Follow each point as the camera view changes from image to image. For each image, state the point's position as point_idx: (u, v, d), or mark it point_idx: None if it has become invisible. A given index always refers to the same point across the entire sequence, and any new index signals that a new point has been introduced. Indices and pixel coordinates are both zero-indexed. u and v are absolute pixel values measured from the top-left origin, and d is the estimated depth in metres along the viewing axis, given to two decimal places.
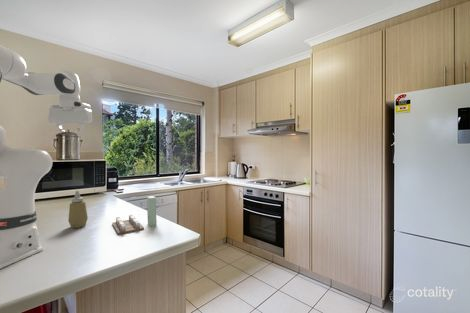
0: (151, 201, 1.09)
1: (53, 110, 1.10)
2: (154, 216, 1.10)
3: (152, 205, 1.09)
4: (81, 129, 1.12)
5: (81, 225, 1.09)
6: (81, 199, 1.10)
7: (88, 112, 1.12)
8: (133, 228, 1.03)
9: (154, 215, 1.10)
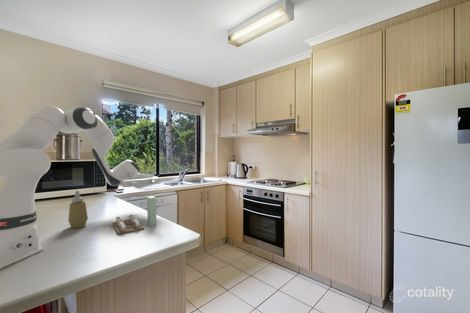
0: (151, 201, 1.09)
1: (126, 179, 1.25)
2: (154, 216, 1.10)
3: (152, 205, 1.09)
4: None
5: (81, 225, 1.09)
6: (81, 199, 1.10)
7: None
8: (133, 228, 1.03)
9: (154, 215, 1.10)
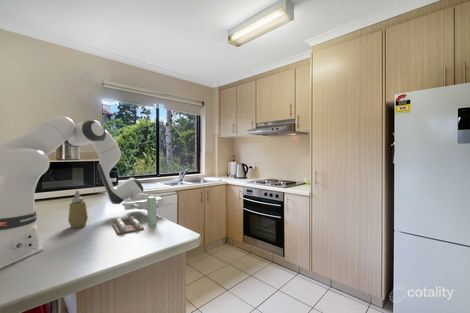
0: (151, 201, 1.09)
1: (129, 200, 1.22)
2: (154, 216, 1.10)
3: (152, 205, 1.09)
4: None
5: (81, 225, 1.09)
6: (81, 199, 1.10)
7: None
8: (133, 228, 1.03)
9: (154, 215, 1.10)
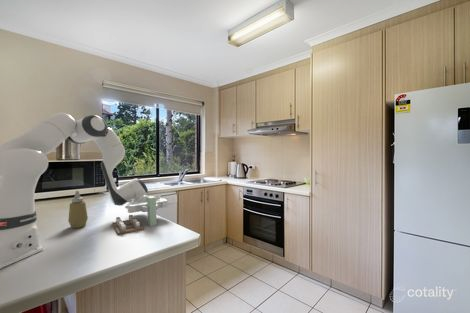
0: (151, 201, 1.09)
1: (132, 203, 1.15)
2: (154, 216, 1.10)
3: (152, 205, 1.09)
4: None
5: (81, 225, 1.09)
6: (81, 199, 1.10)
7: None
8: (133, 228, 1.03)
9: (154, 215, 1.10)
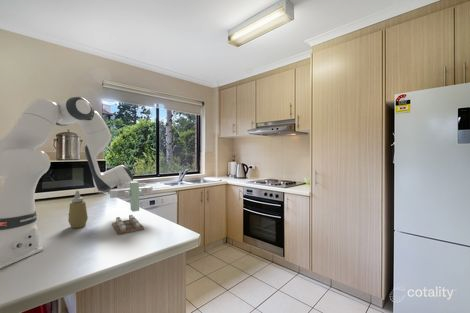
0: (133, 186, 1.06)
1: None
2: (137, 201, 1.07)
3: (134, 190, 1.06)
4: None
5: (81, 225, 1.09)
6: (81, 199, 1.10)
7: None
8: (133, 228, 1.03)
9: (137, 200, 1.07)
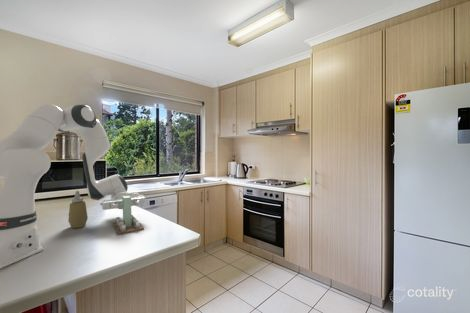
0: (126, 201, 1.06)
1: (107, 200, 1.12)
2: (129, 216, 1.07)
3: (127, 205, 1.06)
4: None
5: (81, 225, 1.09)
6: (81, 199, 1.10)
7: None
8: (133, 228, 1.03)
9: (129, 215, 1.07)
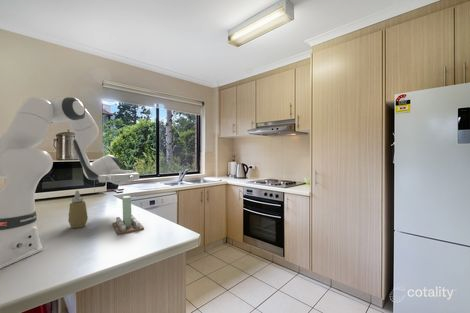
0: (126, 201, 1.06)
1: None
2: (129, 216, 1.07)
3: (127, 205, 1.06)
4: None
5: (81, 225, 1.09)
6: (81, 199, 1.10)
7: None
8: (133, 228, 1.03)
9: (129, 215, 1.07)
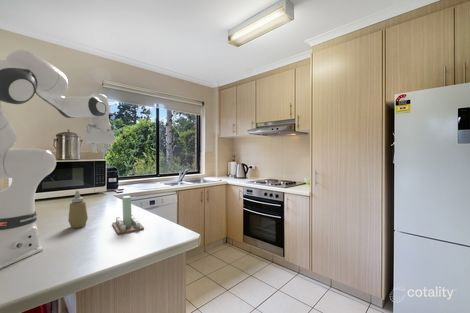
0: (126, 201, 1.06)
1: (95, 130, 1.07)
2: (129, 216, 1.07)
3: (127, 205, 1.06)
4: None
5: (81, 225, 1.09)
6: (81, 199, 1.10)
7: None
8: (133, 228, 1.03)
9: (129, 215, 1.07)
